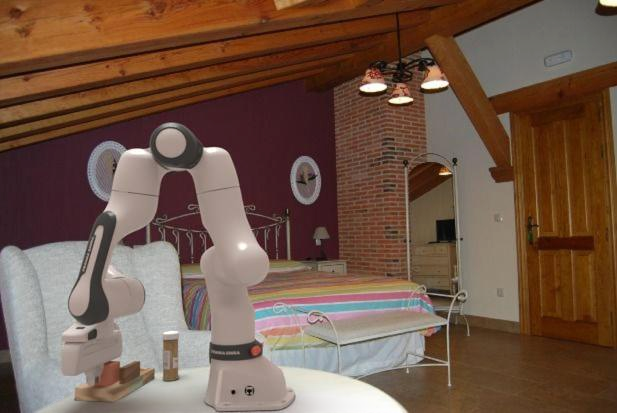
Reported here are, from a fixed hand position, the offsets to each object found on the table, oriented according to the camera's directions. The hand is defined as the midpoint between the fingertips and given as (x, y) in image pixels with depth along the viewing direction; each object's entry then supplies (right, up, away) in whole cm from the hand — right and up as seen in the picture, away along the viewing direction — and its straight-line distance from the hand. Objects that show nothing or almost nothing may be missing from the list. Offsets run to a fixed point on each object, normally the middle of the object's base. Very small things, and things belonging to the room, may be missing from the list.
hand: (94, 384), depth 115 cm
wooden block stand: (+2, -5, +10) cm, 11 cm away
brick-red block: (+1, -2, +5) cm, 5 cm away
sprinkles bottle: (+14, -6, +18) cm, 23 cm away
